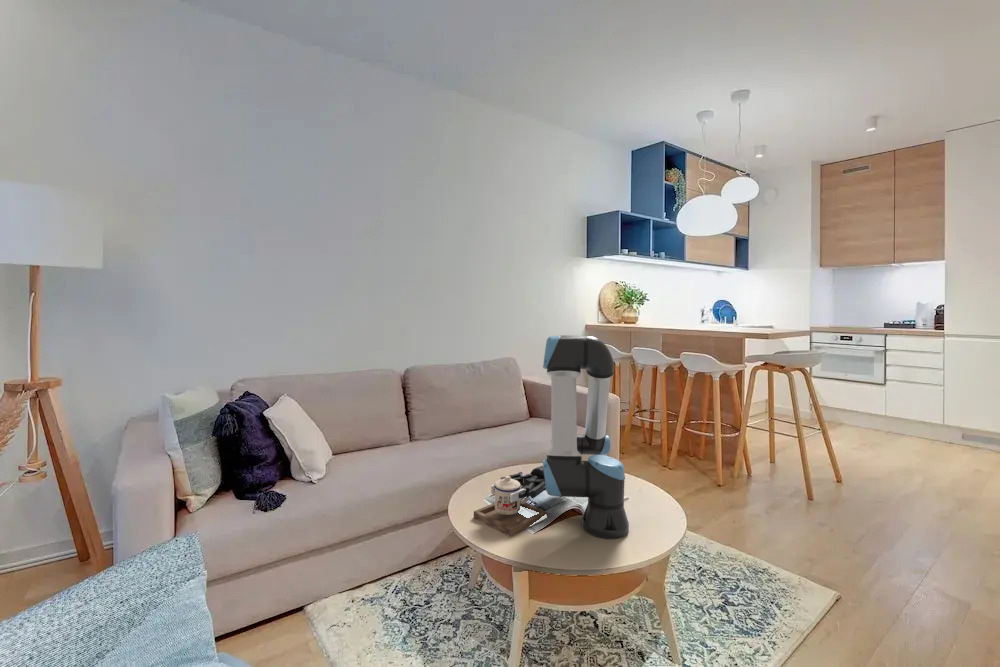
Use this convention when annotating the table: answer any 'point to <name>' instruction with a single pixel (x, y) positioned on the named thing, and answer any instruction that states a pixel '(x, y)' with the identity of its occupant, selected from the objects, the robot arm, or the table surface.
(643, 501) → the table surface
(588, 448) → the robot arm
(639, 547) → the table surface
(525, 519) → the tray
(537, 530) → the table surface
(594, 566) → the table surface
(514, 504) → the teacup with lid
